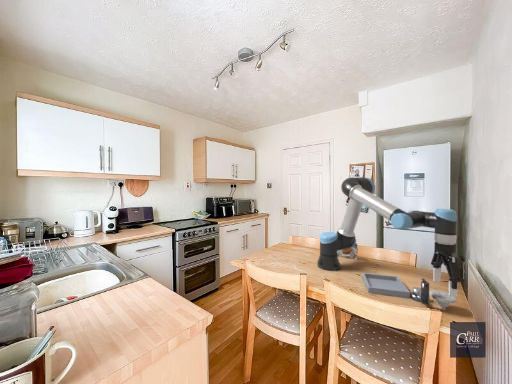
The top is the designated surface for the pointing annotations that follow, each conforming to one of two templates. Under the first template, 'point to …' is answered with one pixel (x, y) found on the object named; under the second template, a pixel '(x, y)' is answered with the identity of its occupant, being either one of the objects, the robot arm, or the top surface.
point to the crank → (422, 292)
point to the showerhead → (443, 298)
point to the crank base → (414, 297)
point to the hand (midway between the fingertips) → (444, 288)
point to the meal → (348, 252)
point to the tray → (385, 285)
